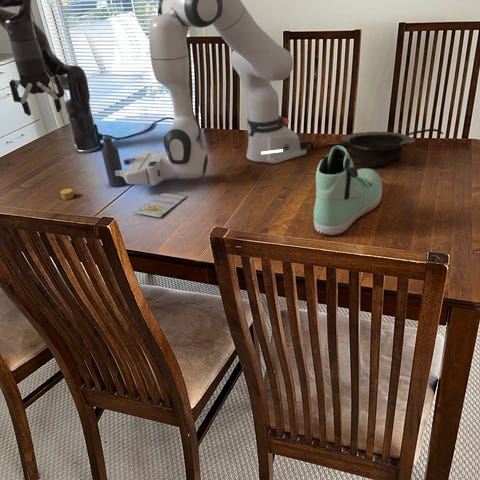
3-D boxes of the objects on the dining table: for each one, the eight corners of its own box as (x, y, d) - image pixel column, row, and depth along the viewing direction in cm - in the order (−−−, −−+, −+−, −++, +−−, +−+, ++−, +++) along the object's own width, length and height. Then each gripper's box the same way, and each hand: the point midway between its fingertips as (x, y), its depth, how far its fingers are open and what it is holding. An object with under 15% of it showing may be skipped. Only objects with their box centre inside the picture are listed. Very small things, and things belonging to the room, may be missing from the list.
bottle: (125, 185, 164) (115, 138, 155) (110, 188, 163) (99, 141, 154) (124, 179, 168) (114, 134, 160) (108, 182, 167) (98, 136, 159)
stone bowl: (372, 178, 154) (373, 150, 150) (326, 159, 175) (325, 135, 170) (429, 159, 163) (431, 132, 159) (379, 144, 183) (379, 120, 179)
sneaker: (389, 187, 148) (396, 123, 138) (356, 242, 123) (361, 168, 112) (346, 181, 154) (350, 119, 144) (306, 232, 129) (307, 161, 118)
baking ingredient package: (135, 211, 145) (163, 192, 156) (135, 213, 145) (163, 193, 156) (159, 216, 141) (186, 195, 153) (159, 217, 141) (186, 197, 153)
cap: (76, 195, 160) (74, 189, 159) (67, 200, 157) (65, 194, 156) (68, 193, 162) (66, 187, 160) (59, 198, 159) (58, 192, 158)
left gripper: (-1, 62, 132) (17, 119, 141) (52, 56, 134) (67, 113, 142) (4, 57, 138) (22, 112, 147) (55, 51, 140) (69, 107, 149)
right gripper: (165, 145, 168) (127, 147, 169) (150, 169, 150) (108, 170, 152) (168, 162, 171) (131, 163, 173) (153, 187, 154) (112, 188, 156)
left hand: (44, 113), depth 145 cm, fingers open, 8 cm apart
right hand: (120, 167), depth 162 cm, fingers open, 8 cm apart
